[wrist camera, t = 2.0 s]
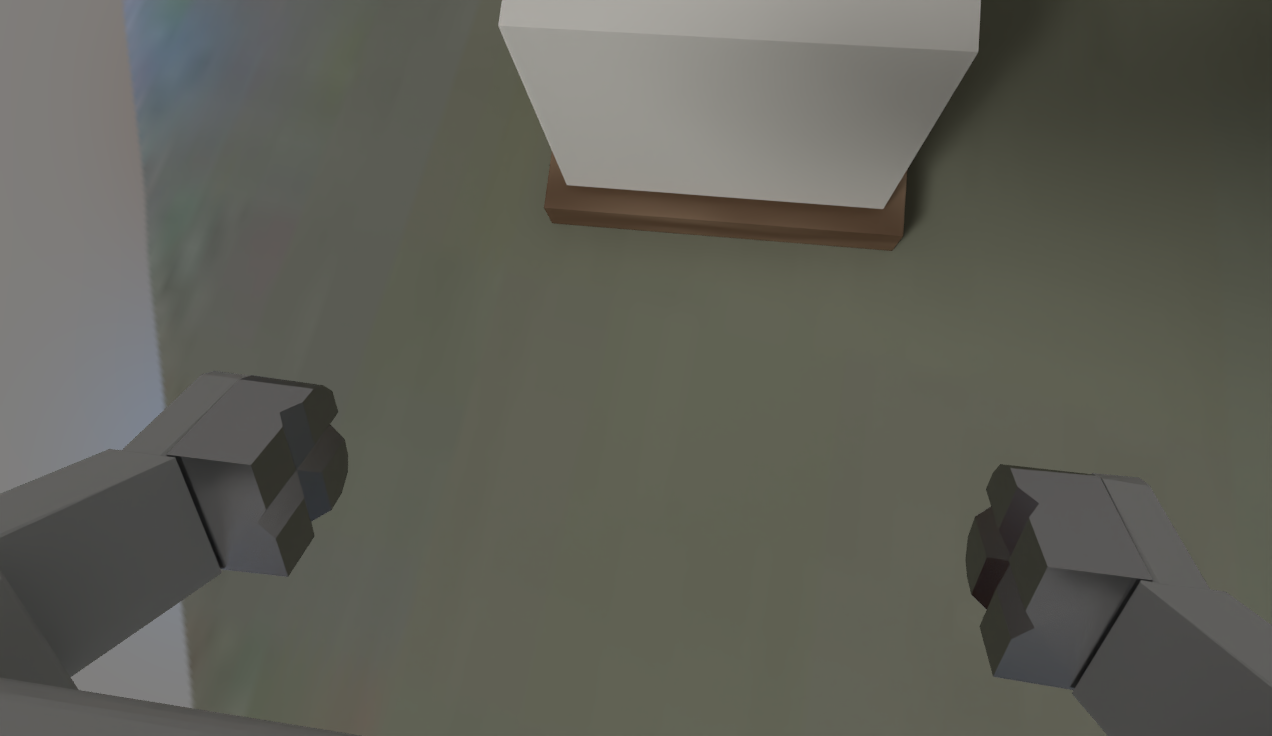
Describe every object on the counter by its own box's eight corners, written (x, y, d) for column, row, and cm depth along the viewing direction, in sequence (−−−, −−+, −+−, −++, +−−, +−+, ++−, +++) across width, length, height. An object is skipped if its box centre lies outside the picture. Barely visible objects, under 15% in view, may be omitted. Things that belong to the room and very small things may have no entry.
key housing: (892, 250, 36) (929, 201, 30) (552, 223, 38) (524, 170, 32) (909, -23, 38) (947, -119, 32) (588, -38, 40) (568, -132, 34)
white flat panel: (883, 209, 34) (978, 52, 22) (566, 185, 35) (498, 25, 24) (885, 166, 34) (981, -12, 22) (572, 144, 36) (507, -34, 24)
